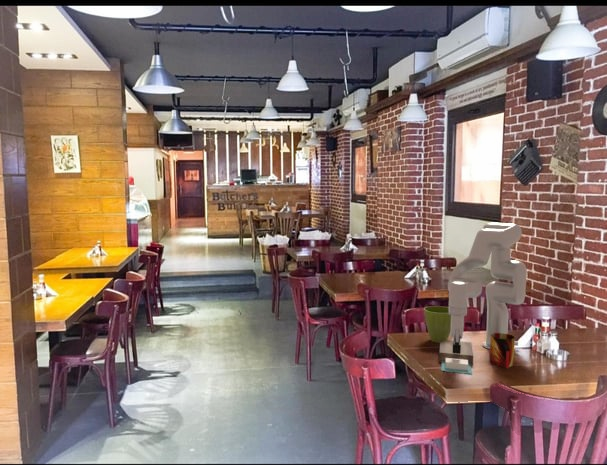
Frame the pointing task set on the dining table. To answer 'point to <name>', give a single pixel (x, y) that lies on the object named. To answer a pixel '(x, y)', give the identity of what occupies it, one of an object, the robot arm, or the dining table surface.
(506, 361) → the mug
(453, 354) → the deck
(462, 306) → the robot arm
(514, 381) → the dining table surface
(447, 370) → the mat
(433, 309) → the flower pot
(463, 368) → the cream rectangular block
